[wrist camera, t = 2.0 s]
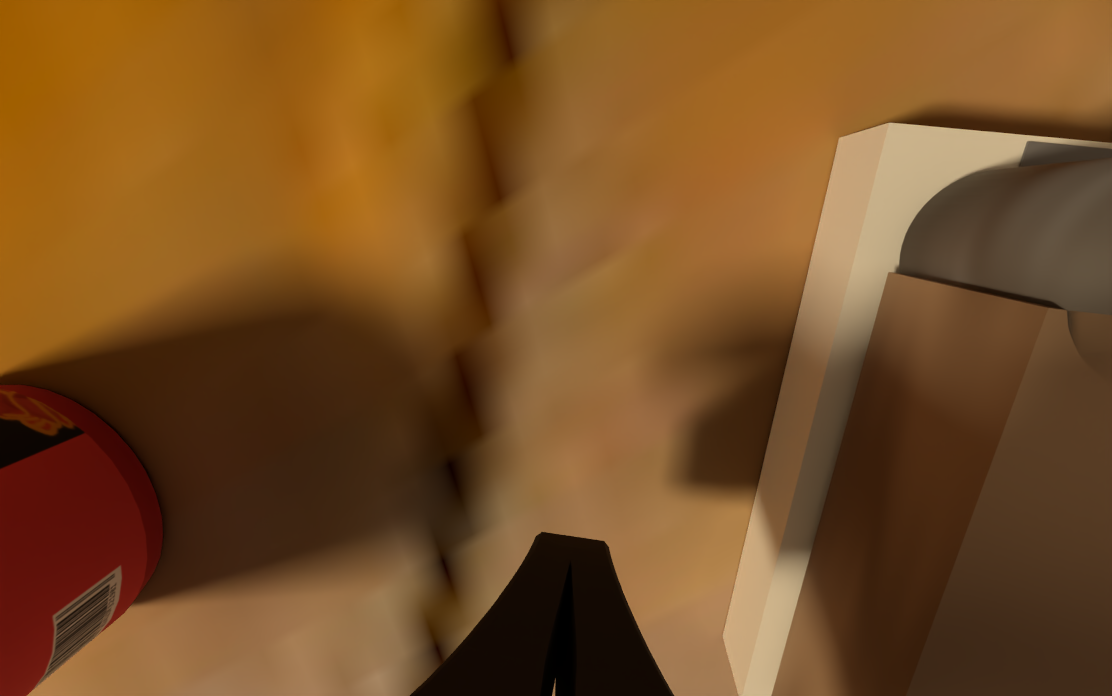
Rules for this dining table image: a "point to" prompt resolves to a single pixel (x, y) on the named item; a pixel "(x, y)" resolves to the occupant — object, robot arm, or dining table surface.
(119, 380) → the dining table surface
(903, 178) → the stool seat
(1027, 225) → the stool leg
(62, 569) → the canned food
